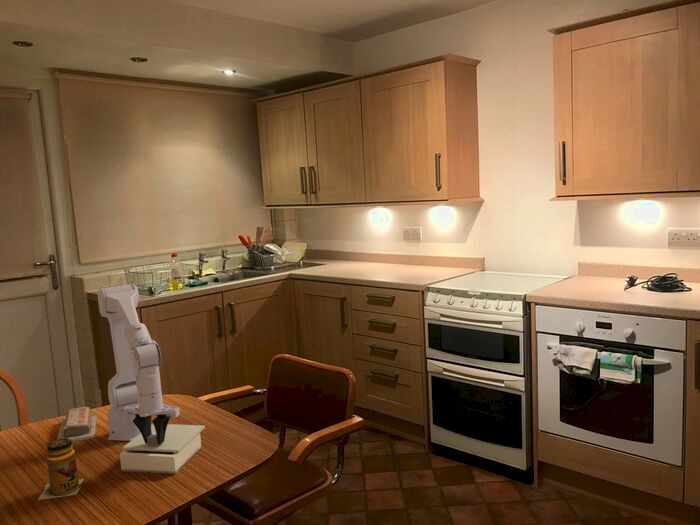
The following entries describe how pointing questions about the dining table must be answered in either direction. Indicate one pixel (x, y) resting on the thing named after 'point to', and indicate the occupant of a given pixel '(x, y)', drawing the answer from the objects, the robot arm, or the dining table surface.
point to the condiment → (61, 470)
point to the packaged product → (78, 425)
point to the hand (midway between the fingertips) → (154, 442)
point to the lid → (166, 439)
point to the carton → (159, 459)
